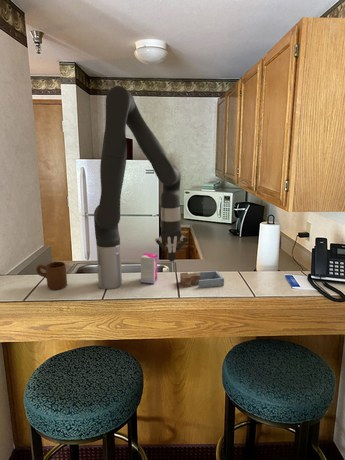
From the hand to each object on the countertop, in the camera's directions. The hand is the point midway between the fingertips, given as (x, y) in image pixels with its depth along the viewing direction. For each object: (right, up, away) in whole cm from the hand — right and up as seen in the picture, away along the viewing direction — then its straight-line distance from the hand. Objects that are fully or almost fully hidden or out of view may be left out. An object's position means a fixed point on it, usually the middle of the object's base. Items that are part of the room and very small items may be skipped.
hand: (171, 260), depth 132 cm
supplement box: (-9, -9, +7) cm, 15 cm away
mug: (-48, -11, +2) cm, 49 cm away
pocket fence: (+16, -9, +6) cm, 19 cm away
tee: (+8, -10, +4) cm, 13 cm away
